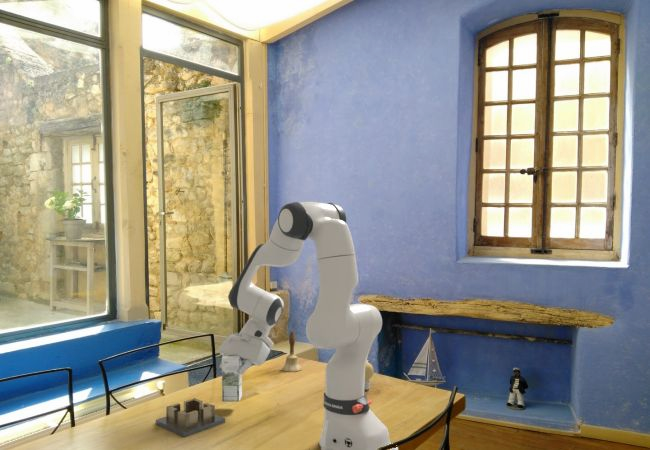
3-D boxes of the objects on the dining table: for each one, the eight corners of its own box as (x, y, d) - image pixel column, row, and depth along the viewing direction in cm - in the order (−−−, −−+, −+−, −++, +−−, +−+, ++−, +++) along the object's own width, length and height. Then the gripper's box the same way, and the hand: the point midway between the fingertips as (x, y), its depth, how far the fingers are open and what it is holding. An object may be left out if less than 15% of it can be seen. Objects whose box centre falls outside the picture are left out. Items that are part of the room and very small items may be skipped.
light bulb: (372, 392, 194) (372, 365, 193) (355, 391, 195) (355, 364, 195) (374, 386, 200) (374, 360, 200) (357, 385, 201) (357, 359, 201)
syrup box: (242, 396, 179) (241, 353, 179) (239, 402, 173) (238, 357, 173) (225, 396, 179) (224, 353, 179) (221, 402, 173) (221, 357, 173)
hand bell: (280, 366, 226) (281, 329, 225) (300, 366, 227) (300, 328, 227) (282, 372, 217) (283, 333, 217) (302, 371, 219) (303, 333, 219)
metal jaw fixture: (225, 422, 165) (225, 405, 165) (184, 437, 154) (184, 419, 153) (196, 410, 175) (196, 394, 175) (155, 423, 163) (155, 407, 163)
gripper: (228, 326, 188) (205, 359, 180) (267, 334, 174) (245, 370, 167) (238, 337, 191) (216, 370, 184) (277, 345, 178) (256, 381, 170)
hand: (230, 370), depth 175 cm, fingers closed on syrup box, 8 cm apart
